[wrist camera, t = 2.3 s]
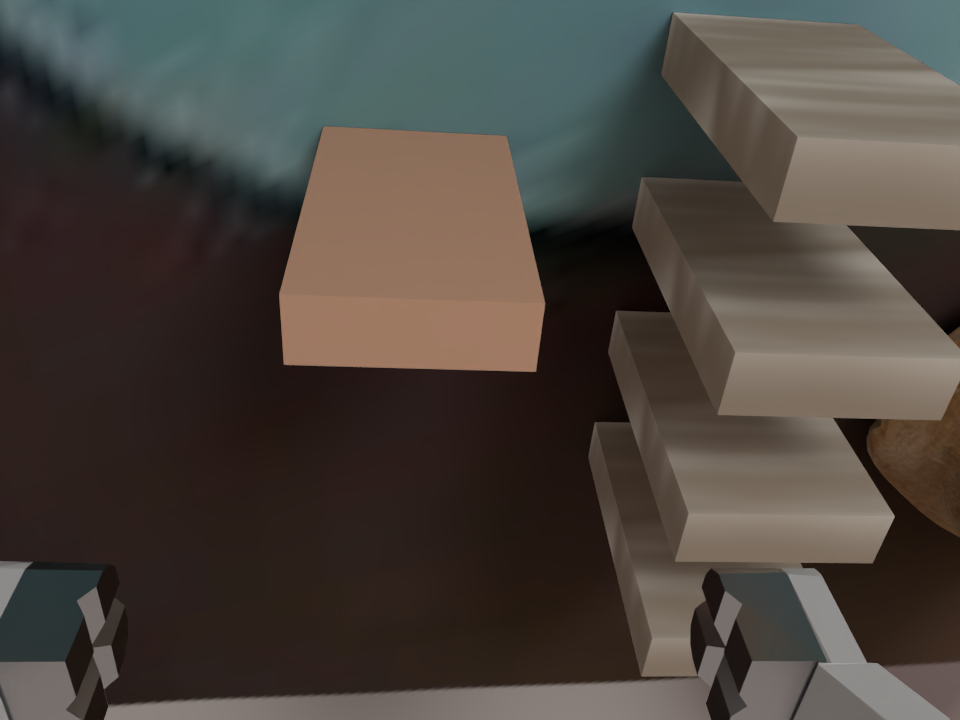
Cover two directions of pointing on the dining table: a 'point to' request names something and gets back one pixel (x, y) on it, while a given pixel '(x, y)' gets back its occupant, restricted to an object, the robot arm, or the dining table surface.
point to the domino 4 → (739, 464)
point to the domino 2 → (822, 119)
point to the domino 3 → (789, 310)
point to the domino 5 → (648, 556)
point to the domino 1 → (412, 256)
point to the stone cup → (923, 459)
